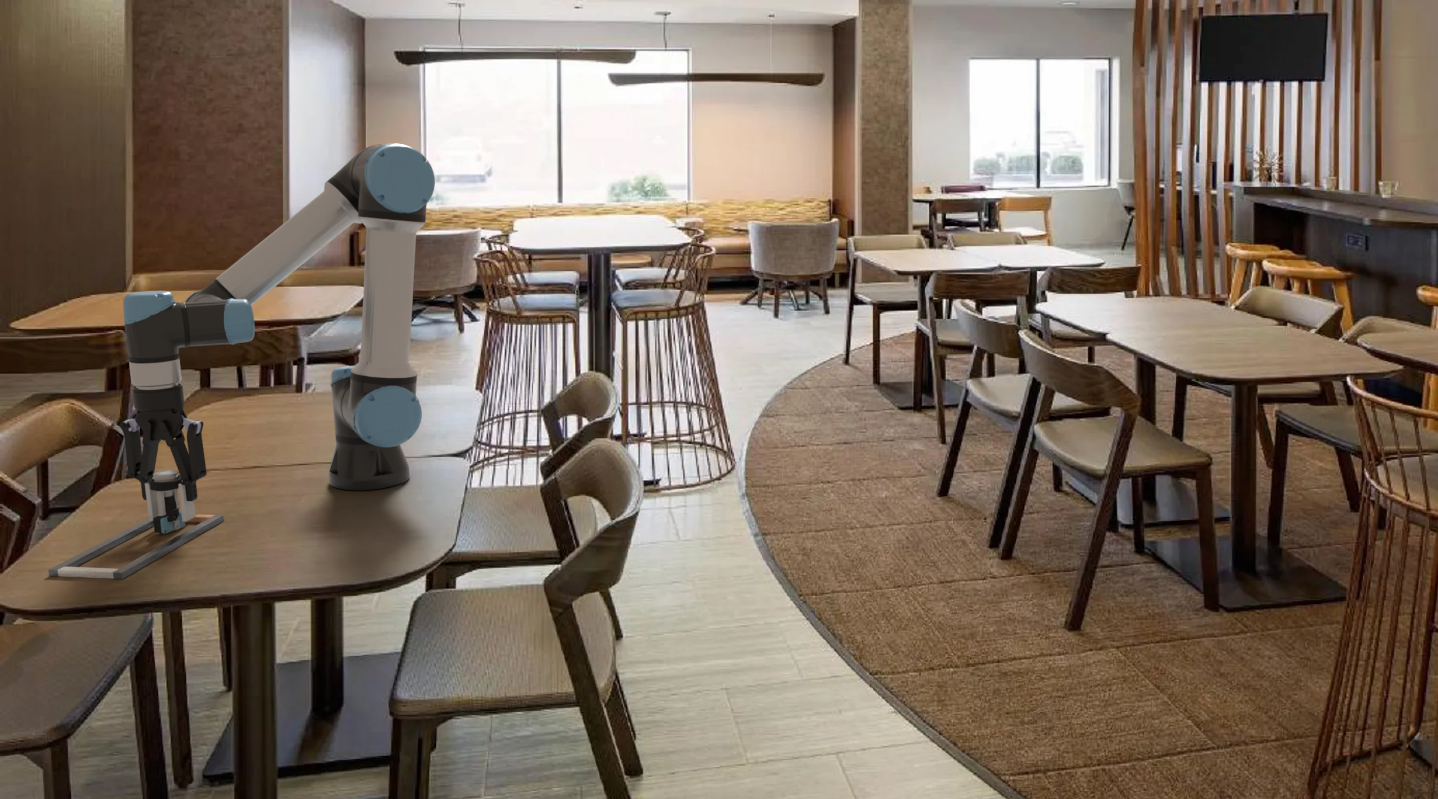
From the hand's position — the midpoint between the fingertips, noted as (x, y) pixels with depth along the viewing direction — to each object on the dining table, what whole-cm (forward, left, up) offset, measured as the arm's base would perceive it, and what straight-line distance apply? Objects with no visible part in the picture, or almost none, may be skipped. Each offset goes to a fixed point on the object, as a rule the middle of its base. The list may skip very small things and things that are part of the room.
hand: (172, 518), depth 190 cm
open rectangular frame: (0, +9, -2) cm, 9 cm away
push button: (0, 0, -2) cm, 2 cm away
